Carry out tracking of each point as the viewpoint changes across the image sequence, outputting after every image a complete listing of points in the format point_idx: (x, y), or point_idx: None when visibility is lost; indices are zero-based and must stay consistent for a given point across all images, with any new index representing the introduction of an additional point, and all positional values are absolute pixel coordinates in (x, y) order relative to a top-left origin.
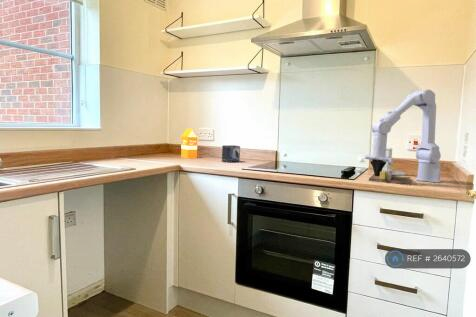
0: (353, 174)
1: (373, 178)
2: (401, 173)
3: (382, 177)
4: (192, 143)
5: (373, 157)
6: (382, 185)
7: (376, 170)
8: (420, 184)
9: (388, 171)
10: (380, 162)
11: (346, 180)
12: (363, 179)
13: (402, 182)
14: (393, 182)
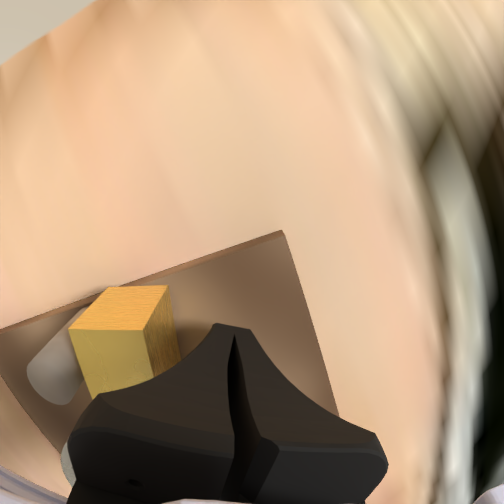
0: (477, 414)
1: (255, 300)
2: (70, 472)
3: (126, 294)
4: None
5: None
6: (55, 79)
7: (213, 353)
8: (5, 413)
9: (45, 360)
10: (73, 433)
11: (419, 30)
12: (360, 264)
13: (8, 329)
14: (57, 309)
